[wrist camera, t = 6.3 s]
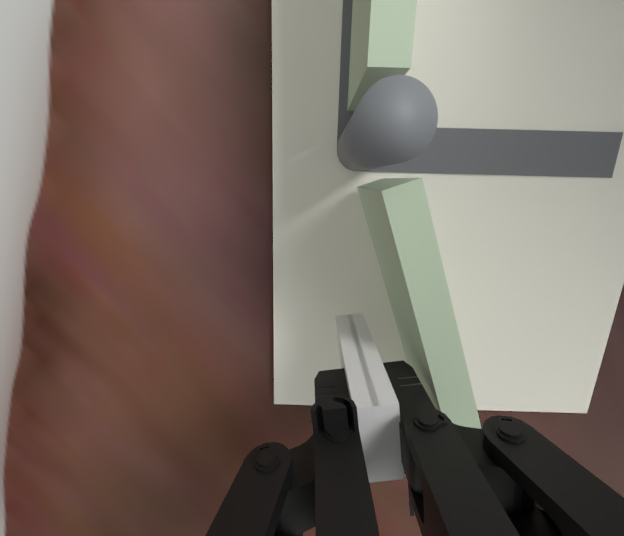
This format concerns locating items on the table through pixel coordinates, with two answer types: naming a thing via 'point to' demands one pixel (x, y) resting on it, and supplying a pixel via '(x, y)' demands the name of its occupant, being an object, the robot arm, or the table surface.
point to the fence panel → (419, 292)
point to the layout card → (461, 193)
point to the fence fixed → (384, 89)
